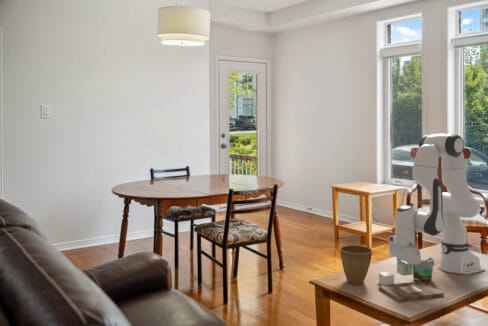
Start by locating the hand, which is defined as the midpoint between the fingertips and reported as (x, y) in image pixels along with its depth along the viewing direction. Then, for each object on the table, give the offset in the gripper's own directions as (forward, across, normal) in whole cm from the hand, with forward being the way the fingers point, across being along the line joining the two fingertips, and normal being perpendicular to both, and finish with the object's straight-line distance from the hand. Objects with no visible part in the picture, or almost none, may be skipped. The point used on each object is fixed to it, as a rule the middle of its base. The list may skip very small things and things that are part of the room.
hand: (404, 269), depth 224 cm
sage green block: (+2, 0, 0) cm, 2 cm away
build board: (+6, -13, +6) cm, 15 cm away
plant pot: (+6, +7, +22) cm, 24 cm away
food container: (+7, -2, -10) cm, 12 cm away
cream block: (+6, 0, +10) cm, 12 cm away
